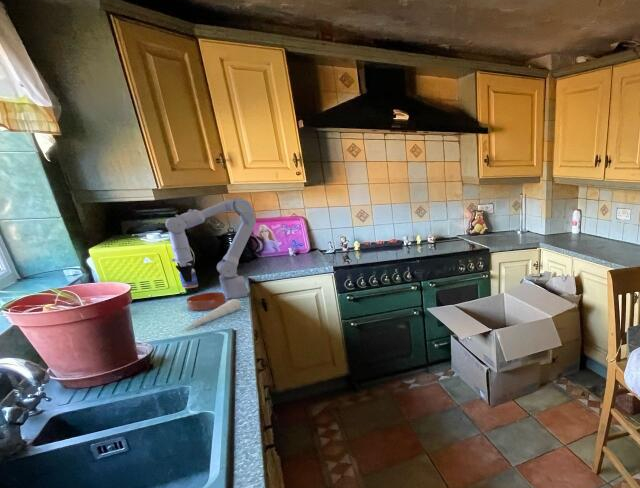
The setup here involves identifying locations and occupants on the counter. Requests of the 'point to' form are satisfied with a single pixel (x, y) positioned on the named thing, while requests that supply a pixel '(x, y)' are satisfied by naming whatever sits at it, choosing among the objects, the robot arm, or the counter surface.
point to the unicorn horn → (218, 312)
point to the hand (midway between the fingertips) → (189, 280)
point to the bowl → (206, 301)
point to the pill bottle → (189, 284)
